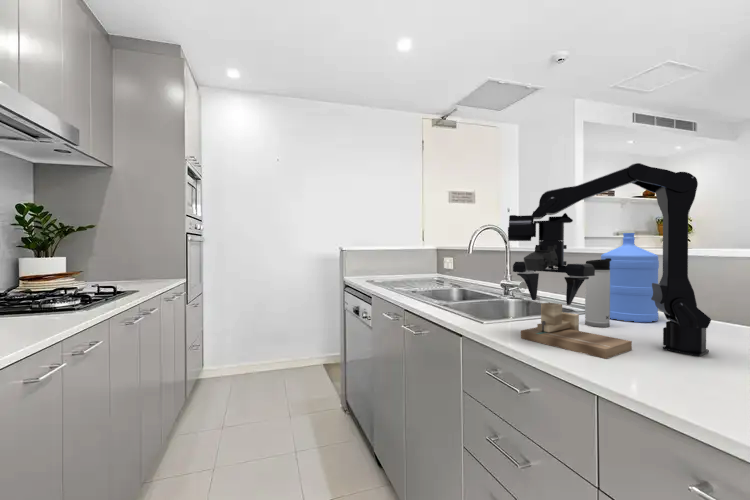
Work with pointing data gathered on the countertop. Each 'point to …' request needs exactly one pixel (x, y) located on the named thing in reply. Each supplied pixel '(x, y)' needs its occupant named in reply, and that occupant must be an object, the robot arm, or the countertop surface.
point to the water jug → (632, 282)
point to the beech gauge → (556, 318)
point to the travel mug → (598, 294)
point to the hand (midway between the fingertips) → (550, 302)
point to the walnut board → (579, 342)
